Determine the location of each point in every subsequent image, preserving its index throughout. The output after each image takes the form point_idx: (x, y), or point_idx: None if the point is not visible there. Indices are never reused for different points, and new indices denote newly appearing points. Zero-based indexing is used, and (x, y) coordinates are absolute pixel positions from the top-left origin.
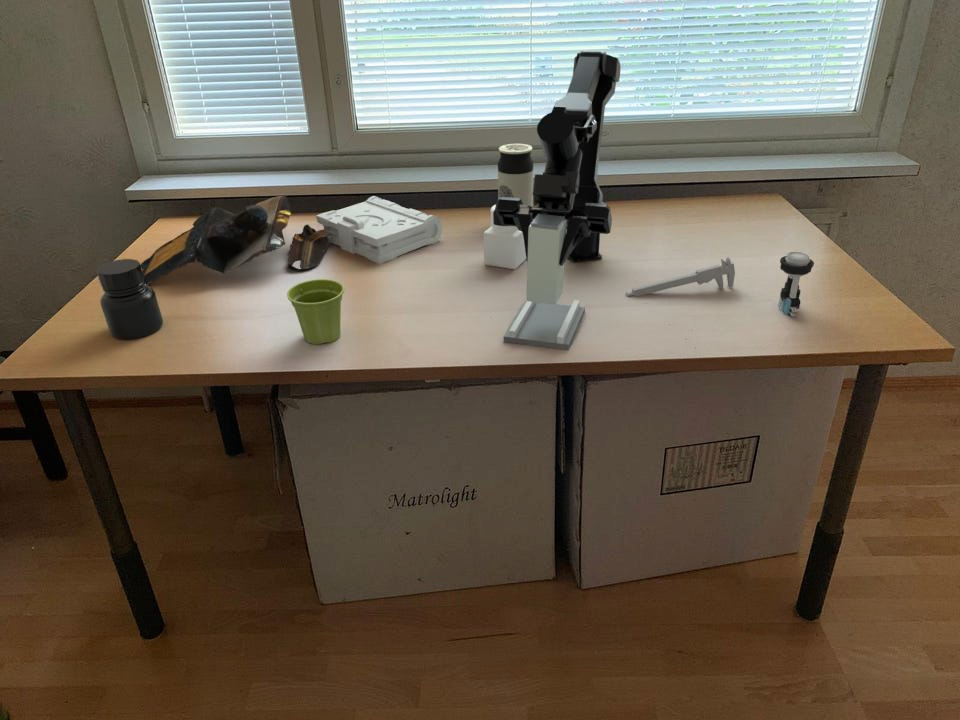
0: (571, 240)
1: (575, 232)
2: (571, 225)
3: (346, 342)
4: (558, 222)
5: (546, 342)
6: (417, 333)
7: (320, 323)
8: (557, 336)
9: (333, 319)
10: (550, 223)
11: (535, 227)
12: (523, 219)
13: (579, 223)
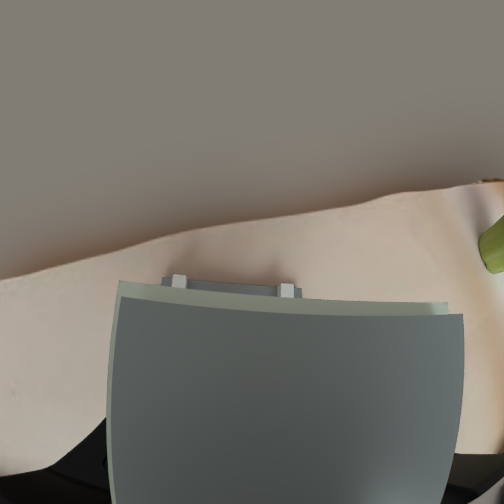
0: (95, 428)
1: (60, 463)
2: (70, 500)
3: (470, 244)
4: (145, 449)
5: (209, 282)
6: (428, 287)
7: (498, 220)
8: (185, 276)
9: (497, 231)
10: (256, 385)
11: (401, 312)
12: (478, 466)
13: (2, 478)
